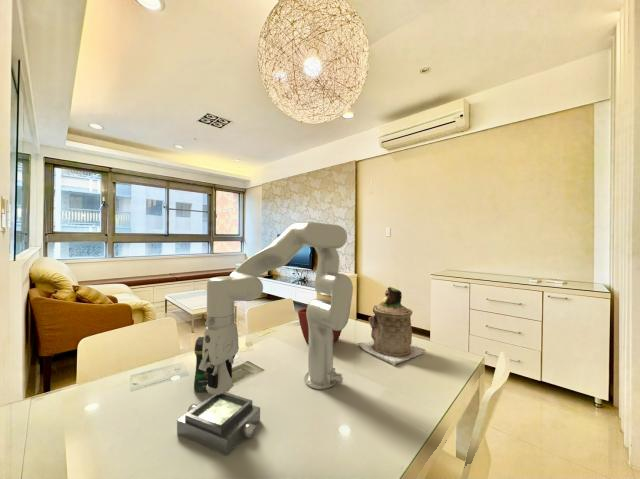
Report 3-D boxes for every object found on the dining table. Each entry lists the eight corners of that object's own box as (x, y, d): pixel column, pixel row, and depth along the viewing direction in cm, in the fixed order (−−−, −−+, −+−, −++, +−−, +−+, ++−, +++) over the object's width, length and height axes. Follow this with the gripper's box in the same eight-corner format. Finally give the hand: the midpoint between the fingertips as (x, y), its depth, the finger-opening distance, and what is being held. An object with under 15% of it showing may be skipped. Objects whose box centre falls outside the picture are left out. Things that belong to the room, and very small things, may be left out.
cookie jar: (428, 353, 128) (429, 287, 127) (393, 367, 114) (395, 293, 113) (388, 337, 148) (389, 280, 147) (355, 347, 134) (356, 284, 133)
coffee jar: (191, 395, 93) (192, 342, 92) (196, 382, 100) (196, 334, 100) (221, 391, 95) (221, 339, 95) (223, 379, 103) (223, 332, 103)
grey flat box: (266, 422, 79) (266, 403, 79) (234, 458, 67) (234, 436, 66) (209, 403, 88) (209, 385, 88) (171, 431, 75) (171, 411, 75)
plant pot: (318, 332, 154) (318, 303, 154) (346, 340, 143) (347, 309, 142) (296, 343, 138) (296, 310, 138) (326, 352, 127) (327, 317, 127)
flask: (217, 398, 72) (217, 362, 72) (201, 390, 76) (201, 355, 76) (238, 386, 78) (238, 352, 78) (222, 378, 82) (222, 346, 82)
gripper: (207, 331, 68) (206, 402, 68) (249, 313, 83) (249, 371, 84) (186, 327, 71) (185, 394, 71) (231, 310, 86) (230, 366, 86)
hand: (220, 381), depth 77 cm, fingers closed on flask, 4 cm apart
